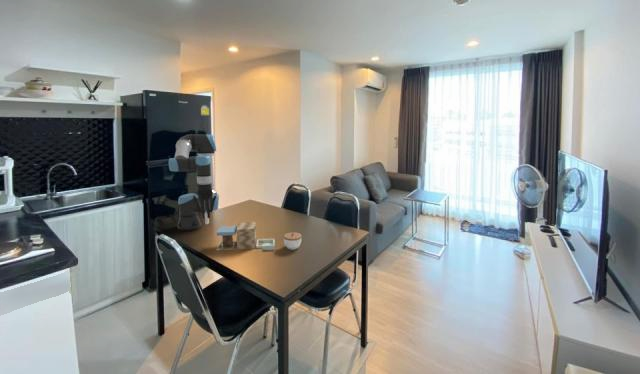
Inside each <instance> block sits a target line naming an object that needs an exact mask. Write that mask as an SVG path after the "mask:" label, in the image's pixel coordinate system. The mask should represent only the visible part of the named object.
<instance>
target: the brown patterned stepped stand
mask: <svg viewBox="0 0 640 374" xmlns="http://www.w3.org/2000/svg"><path fill="white" fill-rule="evenodd" d="M256 223H257V222H256V221H252V222H251V221H250V222H238V223H237V225H236V226H237V229H236V241H235V240H233V245H232V247H224V248H223V241H219V242H218V244H217V246H216V249H215V251H230V250H231V251H232V250H250V249H252V250H253V249H254V250H255V249H256V244H257V233H256V232H257V230H256V229H257V228H256V227H257V226H256Z"/></svg>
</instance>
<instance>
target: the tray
mask: <svg viewBox="0 0 640 374" xmlns="http://www.w3.org/2000/svg"><path fill="white" fill-rule="evenodd" d="M275 242H276V241H275V238H258V239H257V238H256V245H255V249H261V251H275V246H276V245H275ZM259 243H262V245H259Z"/></svg>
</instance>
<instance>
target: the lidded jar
mask: <svg viewBox="0 0 640 374" xmlns="http://www.w3.org/2000/svg"><path fill="white" fill-rule="evenodd" d="M283 243H284V246H285V248H287V249H288V250H290V251H291V250H292V251H293V250H294V251H295V250H297V249H298V248H299V247H300V245H301V243H302V234H301V233H299V232H287V233H285V234H284V235H283Z"/></svg>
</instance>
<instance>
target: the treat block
mask: <svg viewBox="0 0 640 374" xmlns="http://www.w3.org/2000/svg"><path fill="white" fill-rule="evenodd" d="M221 237H222V242H223V248H224V247H232V245H233V241H234V240H233V237H234V235H227V236H221Z"/></svg>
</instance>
